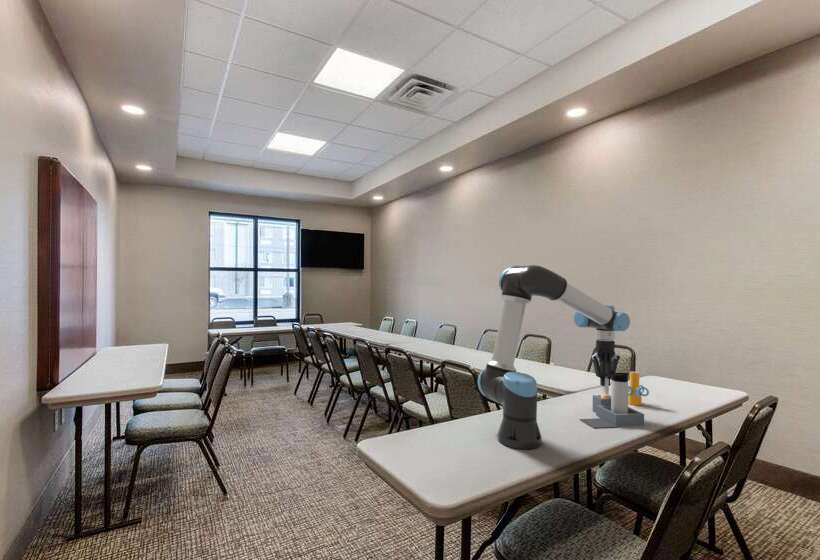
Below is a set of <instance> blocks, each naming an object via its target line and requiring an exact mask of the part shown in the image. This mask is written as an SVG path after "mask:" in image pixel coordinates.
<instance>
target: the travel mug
mask: <svg viewBox="0 0 820 560" xmlns="http://www.w3.org/2000/svg"><path fill="white" fill-rule="evenodd" d="M611 377H612V378H611V379H610V388H611V389H610V392H611V393H610V396H611V411H612V412H614V413H616V414H628V407H629V404H628V386H629V377H630V372H616V373H612V375H611Z"/></svg>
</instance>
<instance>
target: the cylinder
mask: <svg viewBox="0 0 820 560" xmlns="http://www.w3.org/2000/svg"><path fill="white" fill-rule="evenodd" d="M644 391H646V393H645V394H643V393H644ZM649 394H650V390H649V389H648V388H647V387H645V386H644V385H642V384H640V372H639V371H629V385H628V405H631V406H641V405H642V403H643V401H642V399H643V398H642V397H647V396H648V395H649Z"/></svg>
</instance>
